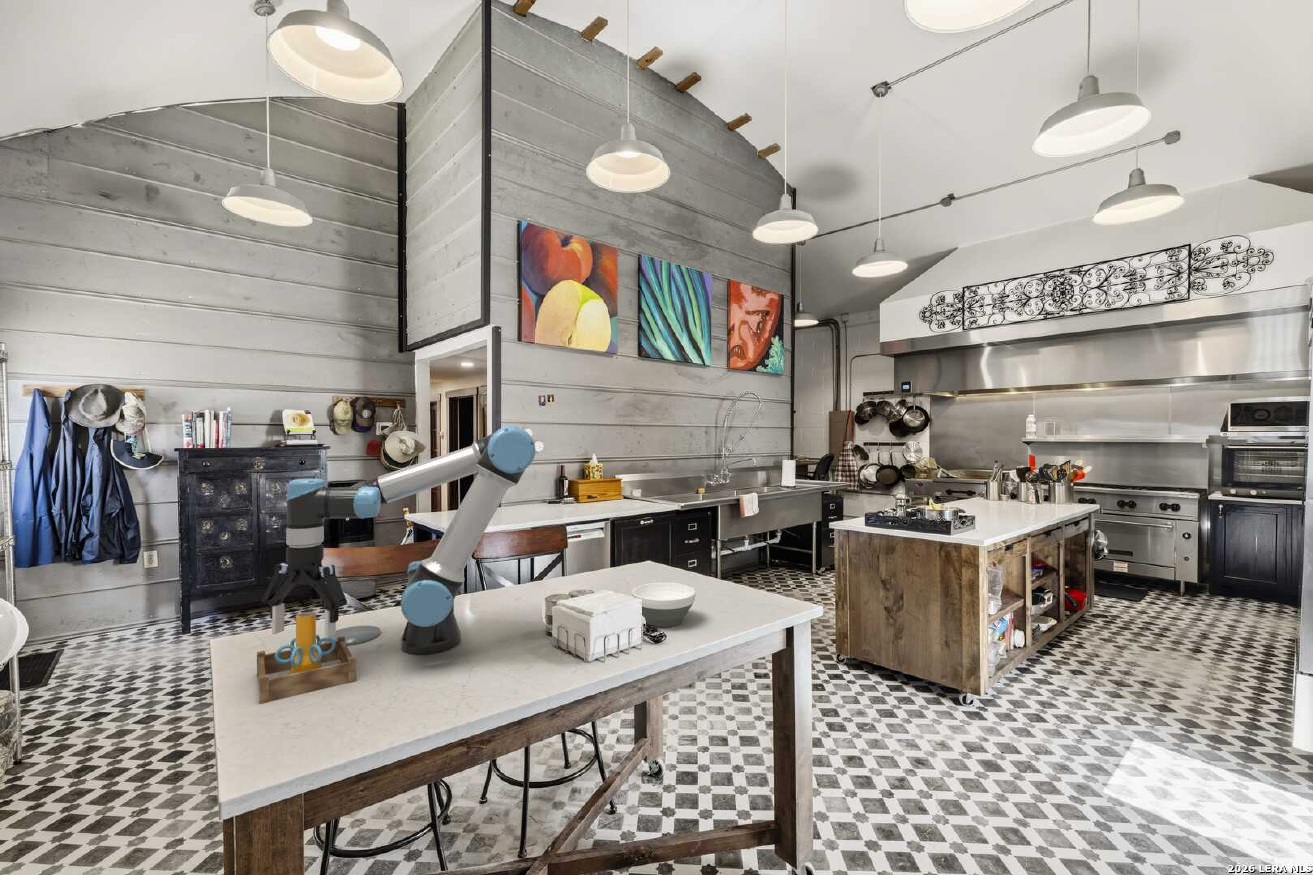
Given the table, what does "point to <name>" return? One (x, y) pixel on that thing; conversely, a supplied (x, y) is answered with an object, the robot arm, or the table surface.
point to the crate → (304, 673)
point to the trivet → (357, 634)
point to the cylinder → (305, 645)
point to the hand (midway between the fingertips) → (303, 634)
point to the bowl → (664, 602)
